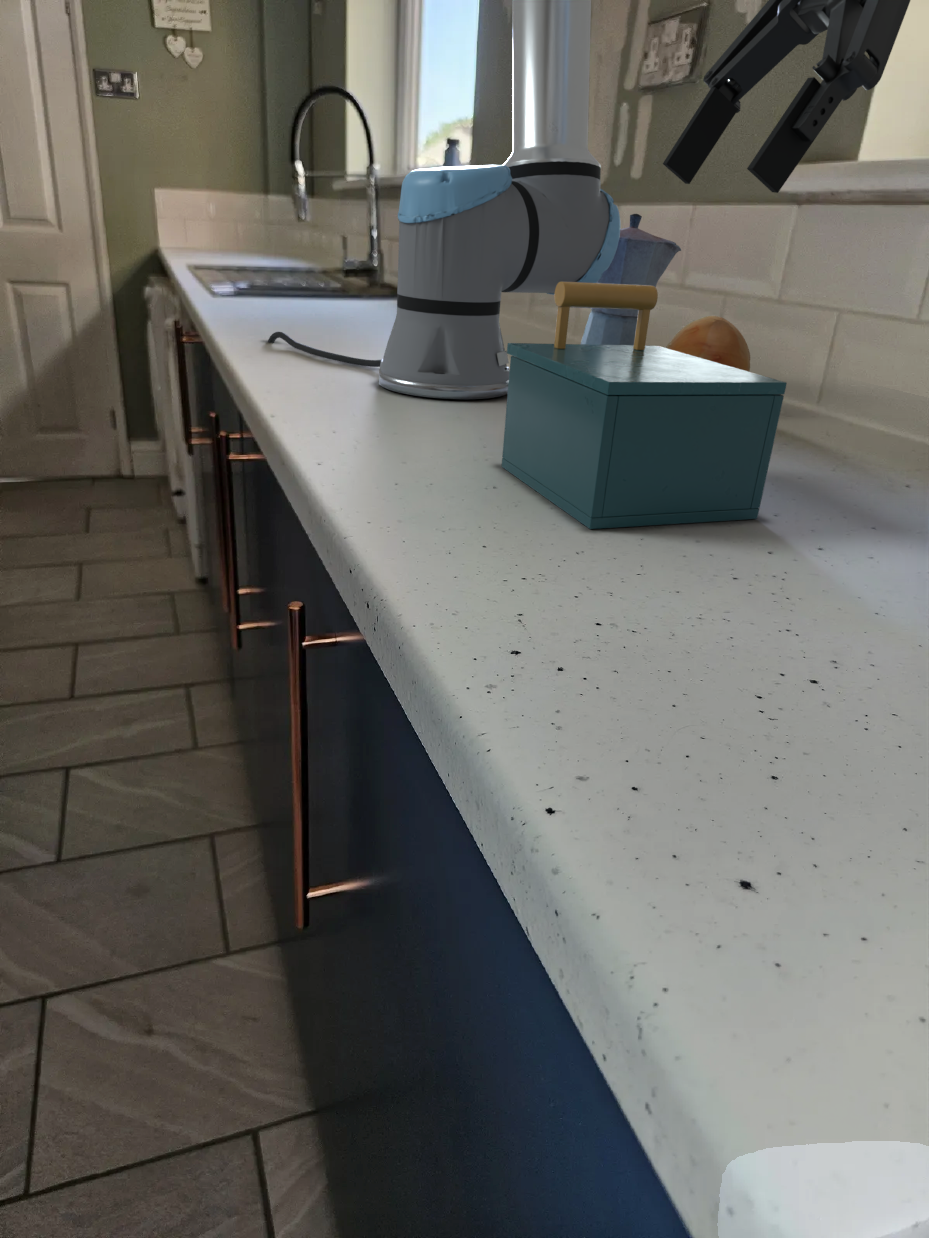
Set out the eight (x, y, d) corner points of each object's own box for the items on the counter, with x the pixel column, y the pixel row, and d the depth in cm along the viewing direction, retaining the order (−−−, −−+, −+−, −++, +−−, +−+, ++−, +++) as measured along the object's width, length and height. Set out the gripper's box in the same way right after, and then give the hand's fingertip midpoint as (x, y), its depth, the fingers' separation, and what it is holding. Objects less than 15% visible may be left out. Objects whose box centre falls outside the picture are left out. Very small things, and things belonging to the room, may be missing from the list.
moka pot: (660, 385, 113) (687, 216, 105) (543, 373, 116) (560, 208, 107) (660, 374, 122) (685, 217, 113) (551, 364, 124) (567, 209, 116)
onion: (644, 396, 105) (657, 309, 101) (723, 399, 106) (739, 314, 102) (670, 413, 96) (685, 318, 92) (755, 417, 98) (774, 323, 94)
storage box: (501, 466, 71) (510, 355, 67) (645, 462, 76) (661, 357, 72) (589, 529, 58) (607, 396, 54) (757, 519, 63) (784, 395, 59)
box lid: (506, 353, 68) (512, 277, 66) (656, 355, 73) (667, 284, 70) (607, 395, 54) (620, 300, 52) (784, 394, 59) (803, 307, 56)
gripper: (773, -108, 69) (616, 145, 75) (1016, -216, 48) (770, 148, 54) (832, -40, 73) (677, 197, 79) (1084, -113, 51) (845, 219, 57)
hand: (715, 177), depth 66 cm, fingers open, 13 cm apart
